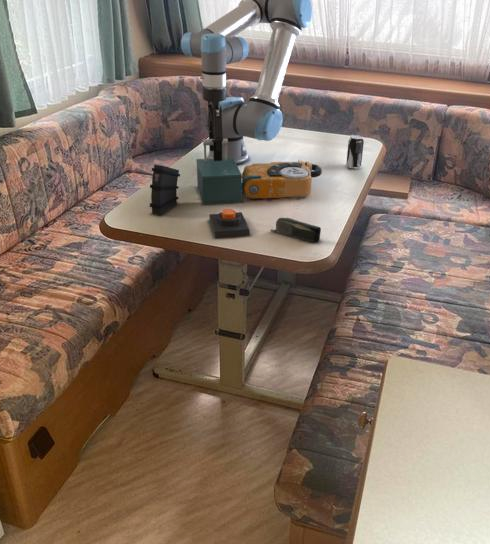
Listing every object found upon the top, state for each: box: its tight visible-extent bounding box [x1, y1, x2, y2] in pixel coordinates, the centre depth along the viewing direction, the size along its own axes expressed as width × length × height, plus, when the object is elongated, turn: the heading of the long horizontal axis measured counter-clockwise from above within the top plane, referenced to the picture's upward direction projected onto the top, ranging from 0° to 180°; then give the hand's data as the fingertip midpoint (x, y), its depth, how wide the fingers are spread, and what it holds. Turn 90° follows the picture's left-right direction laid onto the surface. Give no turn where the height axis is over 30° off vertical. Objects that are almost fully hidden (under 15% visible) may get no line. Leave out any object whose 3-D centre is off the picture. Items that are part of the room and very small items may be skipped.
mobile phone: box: [270, 217, 322, 244], centre depth 167 cm, size 5×3×15 cm
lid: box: [195, 138, 242, 179], centre depth 188 cm, size 16×13×8 cm
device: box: [241, 159, 323, 200], centre depth 199 cm, size 23×8×30 cm
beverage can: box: [345, 134, 365, 170], centre depth 219 cm, size 6×6×12 cm
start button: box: [221, 208, 237, 219], centre depth 170 cm, size 4×4×2 cm
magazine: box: [149, 164, 181, 217], centre depth 180 cm, size 4×13×15 cm, turn 160°
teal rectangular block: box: [196, 164, 243, 206], centre depth 192 cm, size 16×13×9 cm
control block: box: [208, 211, 250, 239], centre depth 171 cm, size 12×10×4 cm
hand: (215, 155), depth 193 cm, fingers open, 9 cm apart
